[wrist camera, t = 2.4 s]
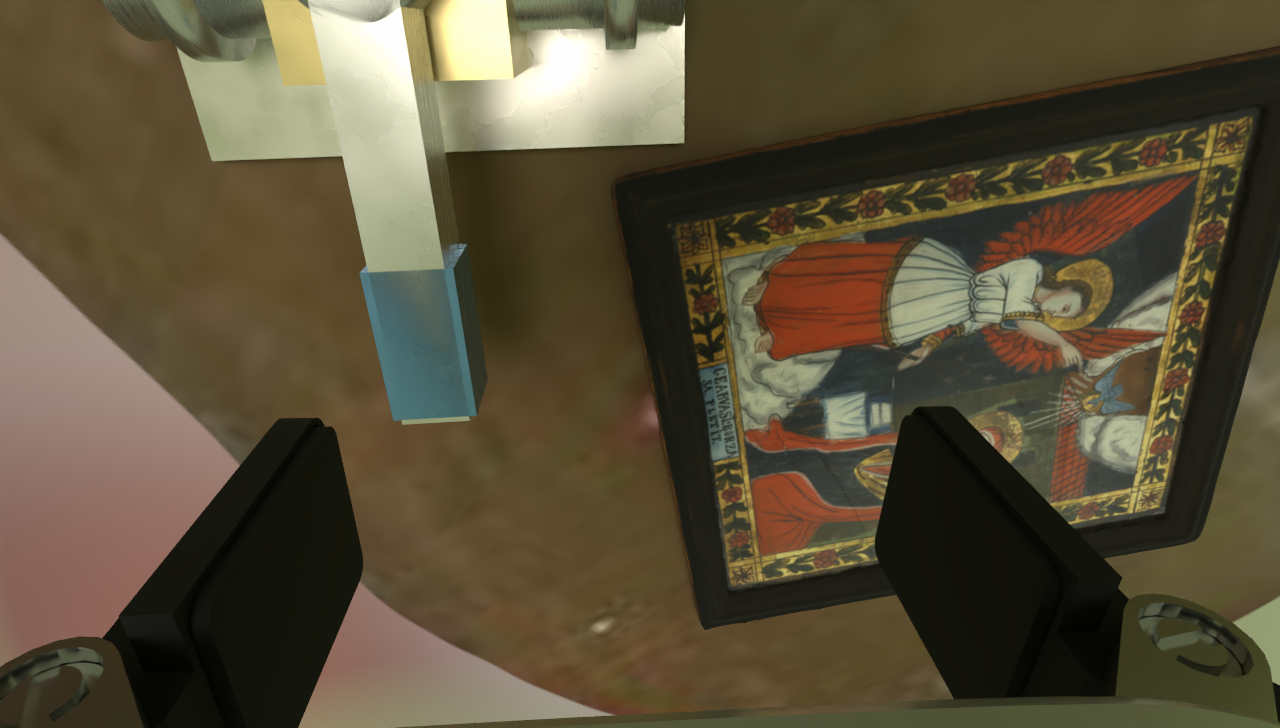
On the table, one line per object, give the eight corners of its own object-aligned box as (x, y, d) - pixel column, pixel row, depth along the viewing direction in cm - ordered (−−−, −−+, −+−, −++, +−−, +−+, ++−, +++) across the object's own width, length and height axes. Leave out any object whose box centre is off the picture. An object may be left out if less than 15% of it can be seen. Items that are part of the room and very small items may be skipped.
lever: (283, -136, 20) (236, -161, 17) (430, -138, 20) (406, -164, 18) (398, 388, 28) (378, 425, 26) (502, 382, 29) (493, 419, 26)
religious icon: (1311, -54, 31) (1375, -60, 28) (1224, 504, 47) (1260, 532, 45) (545, 194, 34) (540, 209, 32) (709, 637, 50) (715, 670, 48)
